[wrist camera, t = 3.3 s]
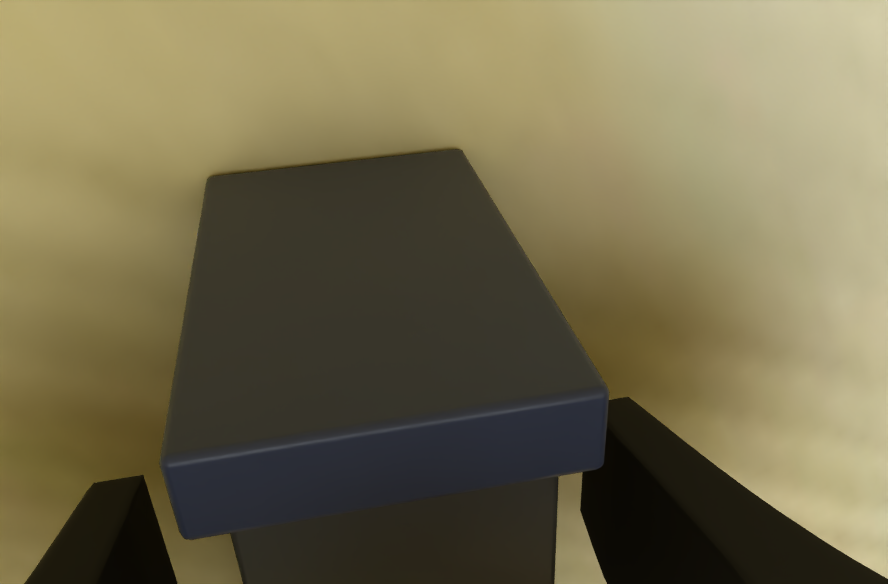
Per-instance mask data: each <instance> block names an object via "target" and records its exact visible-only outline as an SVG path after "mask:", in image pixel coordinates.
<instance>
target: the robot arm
mask: <svg viewBox="0 0 888 584" xmlns="http://www.w3.org/2000/svg"><path fill="white" fill-rule="evenodd" d="M580 511H581V513H582V516H583V519H584V522H585V525H586V528H587V531H588V534H589V537H590V540H591V543H592V546H593V548H594V551H595V554H596V557H597V559H598V562H599V565H600V568H601V570H602V573H603V576H604V578H605V580H606V582H607V584H888V579H887V578H885V577H883V576H881V575H880V574H878V573H876V572H874V571H873V570H871V569H869V568H868V567H866V566H864V565H862V564H861V563H859V562H857V561H855V560H854V559H852V558H850V557H849V556H847V555H845V554H844V553H842V552H841V551H839V550H837V549H836V548H834V547H832V546H831V545H829V544H828V543H826V542H824V541H823V540H821V539H820V538H818V537H817V536H815V535H814V534H812V533H811V532H809V531H808V530H806V529H805V528H803V527H802V526H800V525H799V524H797V523H796V522H794V521H793V520H791V519H790V518H788V517H787V516H785V515H784V514H782V513H781V512H779V511H778V510H776V509H775V508H773V507H772V506H771V505H769V504H768V503H766V502H765V501H763V500H762V499H761V498H759V497H758V496H756V495H755V494H754V493H752V492H751V491H749V490H748V489H747V488H745V487H744V486H743V485H741V484H740V483H738V482H737V481H736V480H734V479H733V478H732V477H730V476H729V475H728V474H726V473H725V472H724V471H722V470H721V469H720V468H718V467H717V466H716V465H714V464H713V463H712V462H710V461H709V460H708V459H707V458H705V457H704V456H703V455H701V454H700V453H699V452H698V451H696V450H695V449H694V448H692V447H691V446H690V445H689V444H687V443H686V442H685V441H683V440H682V439H681V438H680V437H678V436H677V435H676V434H675V433H673V432H672V431H671V430H670V429H668V428H667V427H666V426H665V425H663V424H662V423H661V422H660V421H658V420H657V419H656V418H655V417H653V416H652V415H651V414H650V413H648V412H647V411H646V410H644V409H643V408H642V407H641V406H639V405H638V404H637V403H636V402H634V401H633V400H632V399H630V398H629V397H624V398H618V399H612V400H609V402H608V415H607V429H606V442H605V455H604V464H603V465H602V467H600V468H598V469H597V470H591V471H585V472H583V474H582V491H581V508H580ZM24 584H177V581H176V577H175V574H174V571H173V568H172V565H171V562H170V558H169V555H168V552H167V549H166V546H165V543H164V539H163V536H162V533H161V530H160V527H159V524H158V520H157V517H156V514H155V511H154V508H153V505H152V502H151V498H150V495H149V492H148V489H147V486H146V483H145V479H144V476H143V475H140V476H134V477H128V478H122V479H116V480H109V481H103V482H97V483H94V484H93V485H92V486H91V487H90V488H89V490H88V491H87V492H86V494H85V495H84V497H83V498H82V500H81V501H80V502H79V504H78V505H77V507H76V508H75V510H74V511H73V513H72V514H71V516H70V517H69V519H68V520H67V522H66V523H65V525H64V526H63V528H62V529H61V531H60V532H59V534H58V535H57V537H56V538H55V540H54V541H53V543H52V544H51V546H50V547H49V549H48V550H47V552H46V553H45V555H44V556H43V557H42V559H41V560H40V562H39V563H38V565H37V566H36V568H35V569H34V571H33V572H32V574H31V575H30V576H29V578H28V579H27V581H26V582H25V583H24Z"/></svg>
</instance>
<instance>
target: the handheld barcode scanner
mask: <svg viewBox="0 0 888 584" xmlns="http://www.w3.org/2000/svg"><path fill="white" fill-rule="evenodd" d="M608 402H609V390H608V388H607V386H606V384H605V382H604V381H603V379H602V377H601V376H600V374H599V373H598V371H597V369H596V368H595V366H594V364H593V363H592V361H591V360H590V358H589V356H588V355H587V353H586V351H585V350H584V348H583V347H582V345H581V343H580V342H579V340H578V338H577V337H576V335H575V334H574V332H573V330H572V329H571V327H570V325H569V324H568V322H567V321H566V319H565V317H564V316H563V314H562V312H561V311H560V309H559V308H558V306H557V304H556V303H555V301H554V299H553V298H552V296H551V294H550V293H549V291H548V290H547V288H546V286H545V285H544V283H543V281H542V280H541V278H540V277H539V275H538V273H537V272H536V270H535V268H534V267H533V265H532V264H531V262H530V260H529V259H528V257H527V255H526V254H525V252H524V251H523V249H522V247H521V246H520V244H519V242H518V241H517V239H516V238H515V236H514V234H513V233H512V231H511V229H510V228H509V226H508V225H507V223H506V221H505V220H504V218H503V216H502V215H501V213H500V212H499V210H498V208H497V207H496V205H495V203H494V202H493V200H492V198H491V197H490V195H489V194H488V192H487V190H486V189H485V187H484V185H483V184H482V182H481V181H480V179H479V177H478V176H477V174H476V172H475V171H474V169H473V168H472V166H471V164H470V163H469V161H468V159H467V158H466V156H465V155H464V153H463V151H462V150H459V149H455V150H446V151H437V152H428V153H419V154H410V155H401V156H392V157H383V158H374V159H365V160H356V161H347V162H338V163H329V164H320V165H311V166H302V167H293V168H284V169H275V170H266V171H257V172H248V173H239V174H230V175H221V176H212V177H210V178H208V179H207V182H206V188H205V194H204V200H203V206H202V211H201V217H200V223H199V229H198V235H197V241H196V247H195V253H194V259H193V265H192V271H191V277H190V283H189V289H188V295H187V301H186V306H185V312H184V318H183V324H182V330H181V336H180V342H179V348H178V354H177V360H176V366H175V372H174V378H173V384H172V390H171V396H170V401H169V407H168V413H167V419H166V425H165V431H164V437H163V443H162V449H161V455H160V461H159V465H160V468H161V471H162V475H163V478H164V481H165V485H166V488H167V491H168V495H169V498H170V501H171V505H172V508H173V511H174V515H175V518H176V521H177V525H178V528H179V531H180V533H181V535H182V536H183V537H184V539H189V540H194V539H199V538H205V537H211V536H217V535H222V534H228V533H230V534H231V538H232V542H233V546H234V550H235V554H236V558H237V562H238V565H239V569H240V573H241V577H242V581H243V584H554V580H555V553H556V527H557V501H558V476H562V475H568V474H574V473H579V472H585V471H591V470H597V469H598V468H600V467H602V465H603V464H604V455H605V442H606V429H607V415H608Z"/></svg>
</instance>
